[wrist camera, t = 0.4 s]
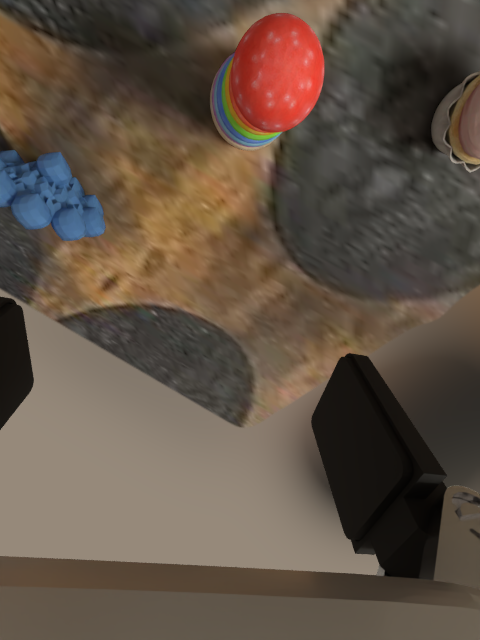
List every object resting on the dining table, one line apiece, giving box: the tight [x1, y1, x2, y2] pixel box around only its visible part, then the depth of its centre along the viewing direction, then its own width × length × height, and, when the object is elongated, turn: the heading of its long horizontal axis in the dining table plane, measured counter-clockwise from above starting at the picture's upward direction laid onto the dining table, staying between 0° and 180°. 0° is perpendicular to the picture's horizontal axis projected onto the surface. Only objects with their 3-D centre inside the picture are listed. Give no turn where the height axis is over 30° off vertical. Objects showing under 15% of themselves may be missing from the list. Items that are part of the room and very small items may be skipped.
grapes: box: [0, 150, 106, 241], centre depth 28 cm, size 12×7×12 cm, turn 57°
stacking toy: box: [210, 13, 324, 151], centre depth 22 cm, size 8×8×19 cm
